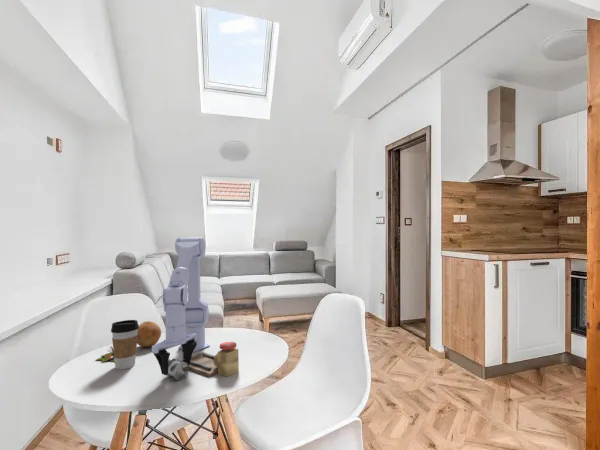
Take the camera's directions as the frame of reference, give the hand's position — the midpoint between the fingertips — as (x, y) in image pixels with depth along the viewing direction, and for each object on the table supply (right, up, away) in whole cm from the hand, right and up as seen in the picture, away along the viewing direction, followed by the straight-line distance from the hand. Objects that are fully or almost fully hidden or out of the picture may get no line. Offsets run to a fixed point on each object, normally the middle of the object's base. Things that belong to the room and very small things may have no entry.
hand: (176, 369), depth 98 cm
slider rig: (+9, -2, +7) cm, 12 cm away
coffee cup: (-21, -3, +10) cm, 23 cm away
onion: (-22, -4, +29) cm, 37 cm away
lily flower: (-30, -4, +18) cm, 35 cm away
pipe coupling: (0, -2, 0) cm, 2 cm away
